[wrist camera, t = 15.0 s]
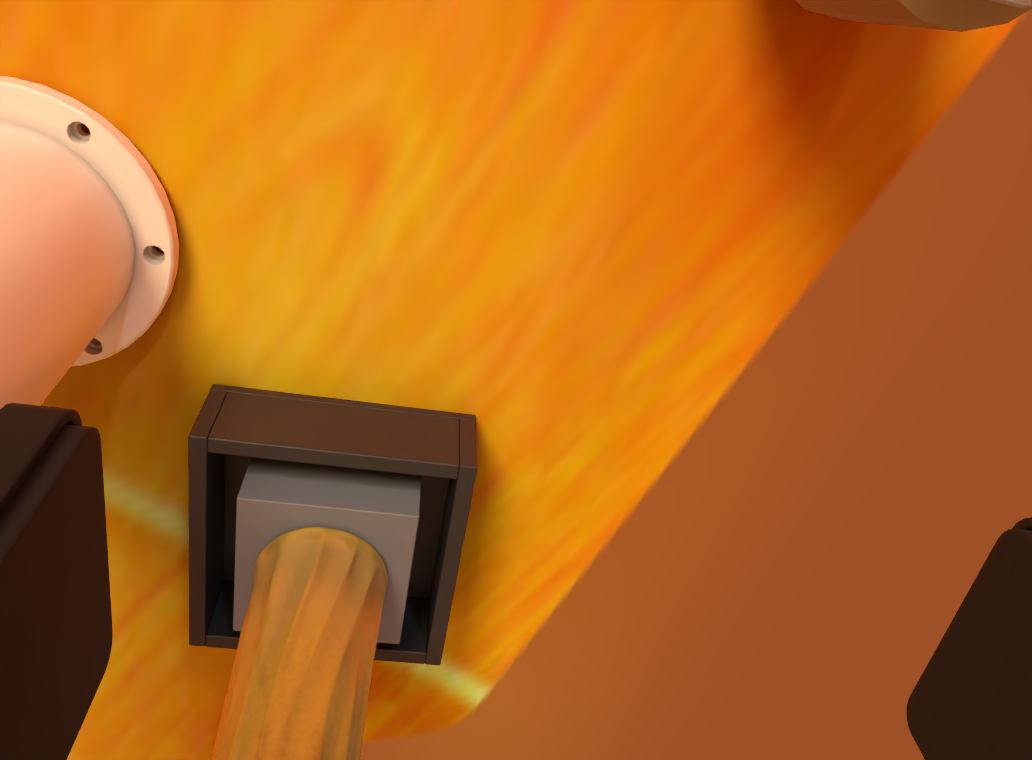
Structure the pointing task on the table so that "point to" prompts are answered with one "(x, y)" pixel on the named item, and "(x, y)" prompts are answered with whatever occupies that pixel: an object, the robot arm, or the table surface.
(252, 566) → the block
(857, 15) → the squeeze bottle
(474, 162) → the table surface
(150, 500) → the table surface
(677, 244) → the table surface
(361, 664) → the vase
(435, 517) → the crate
